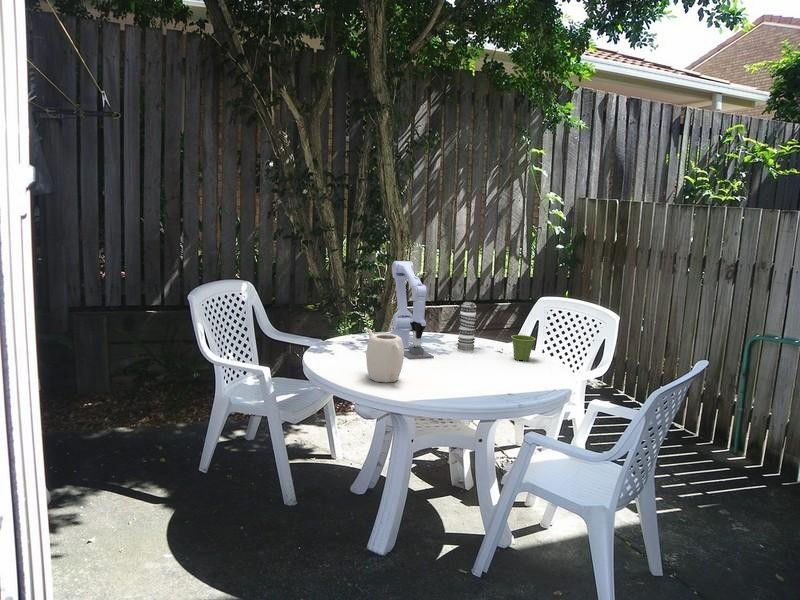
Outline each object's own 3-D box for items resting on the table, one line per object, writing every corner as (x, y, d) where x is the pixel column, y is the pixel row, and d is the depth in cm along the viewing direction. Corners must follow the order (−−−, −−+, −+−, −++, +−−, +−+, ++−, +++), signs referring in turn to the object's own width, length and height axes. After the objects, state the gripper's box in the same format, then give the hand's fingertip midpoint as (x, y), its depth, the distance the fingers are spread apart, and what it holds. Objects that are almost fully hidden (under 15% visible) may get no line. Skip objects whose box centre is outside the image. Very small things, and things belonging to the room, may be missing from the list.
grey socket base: (398, 352, 346) (399, 343, 346) (422, 351, 351) (423, 343, 351) (408, 359, 335) (409, 349, 334) (433, 358, 339) (434, 348, 339)
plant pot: (507, 360, 343) (509, 338, 341) (511, 355, 354) (513, 333, 352) (531, 363, 339) (533, 341, 337) (535, 358, 350) (537, 336, 348)
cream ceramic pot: (381, 369, 313) (383, 328, 310) (414, 385, 291) (417, 340, 288) (350, 372, 304) (352, 330, 301) (382, 389, 282) (385, 343, 279)
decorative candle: (453, 349, 361) (456, 301, 357) (469, 348, 365) (472, 301, 361) (461, 353, 353) (465, 304, 349) (477, 352, 356) (481, 304, 352)
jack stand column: (412, 345, 343) (413, 330, 342) (418, 345, 344) (419, 330, 343) (415, 346, 340) (415, 332, 339) (420, 346, 341) (421, 331, 340)
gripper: (405, 307, 345) (403, 334, 347) (417, 313, 331) (415, 341, 333) (418, 307, 347) (417, 334, 349) (430, 312, 334) (428, 340, 336)
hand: (417, 337), depth 342 cm, fingers closed on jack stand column, 3 cm apart
